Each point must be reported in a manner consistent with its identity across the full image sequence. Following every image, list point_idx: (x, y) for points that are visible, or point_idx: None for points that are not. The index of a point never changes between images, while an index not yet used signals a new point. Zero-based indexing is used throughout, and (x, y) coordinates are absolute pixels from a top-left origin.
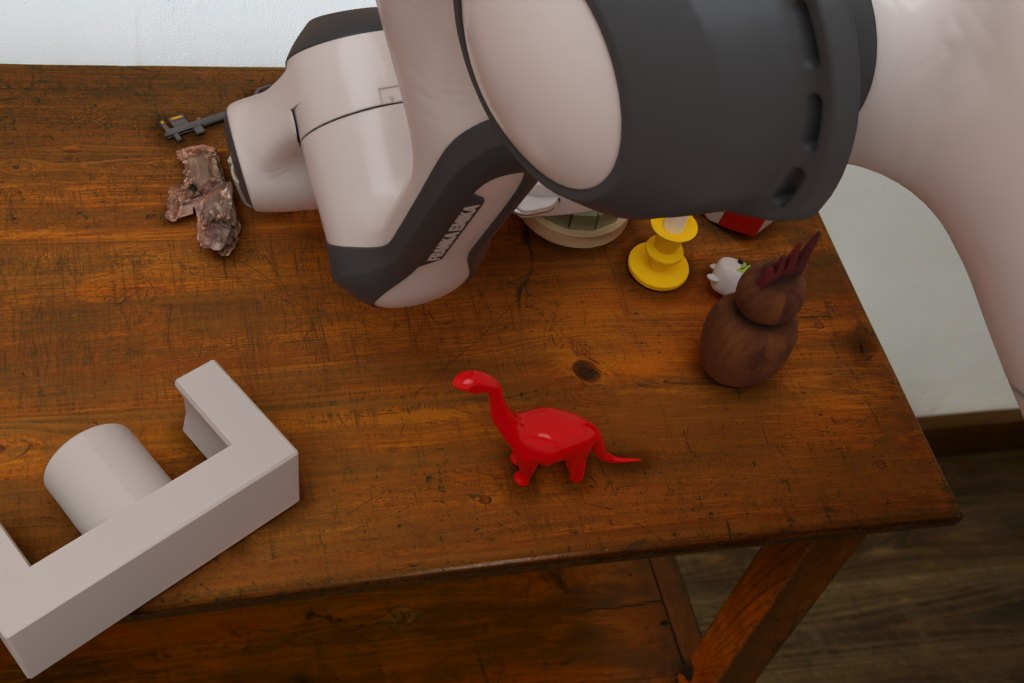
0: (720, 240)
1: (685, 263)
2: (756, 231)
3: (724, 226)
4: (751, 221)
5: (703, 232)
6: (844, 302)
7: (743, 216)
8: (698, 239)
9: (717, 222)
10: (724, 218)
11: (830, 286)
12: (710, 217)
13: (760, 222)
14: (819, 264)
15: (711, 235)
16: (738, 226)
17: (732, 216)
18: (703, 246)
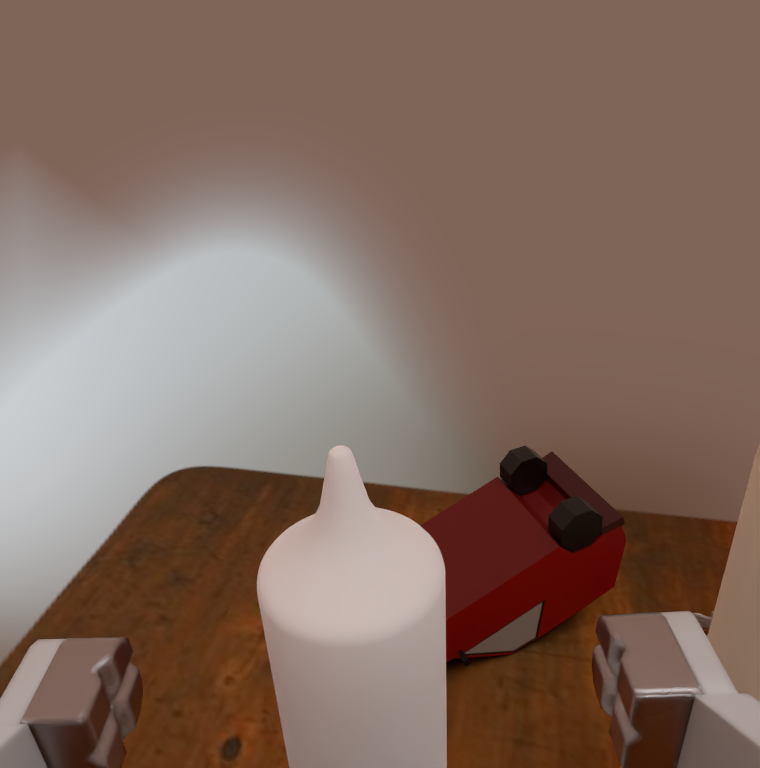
0: (574, 654)
1: None
2: (615, 573)
3: (550, 629)
4: (601, 568)
5: (547, 677)
6: (731, 528)
7: (582, 577)
8: (569, 697)
9: (533, 637)
10: (545, 617)
11: (693, 532)
12: (516, 644)
13: (619, 553)
14: (638, 527)
15: (557, 665)
16: (579, 601)
17: (559, 598)
18: (592, 696)
